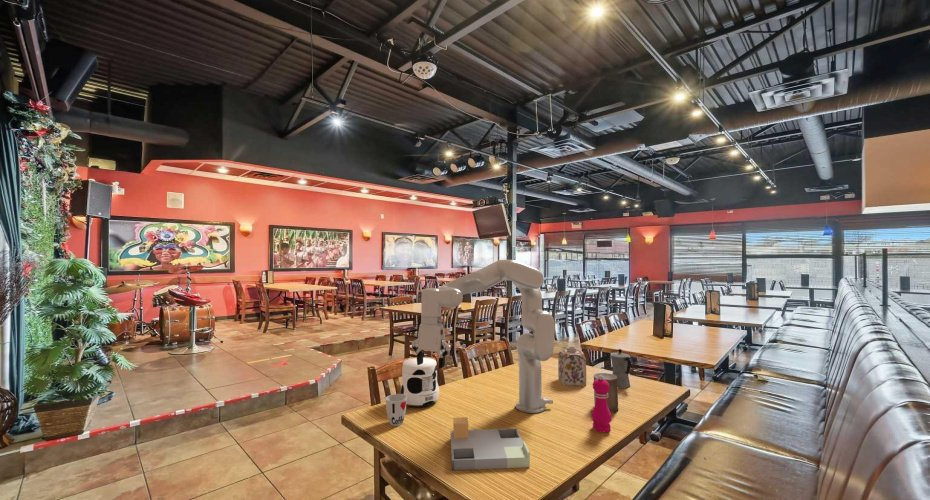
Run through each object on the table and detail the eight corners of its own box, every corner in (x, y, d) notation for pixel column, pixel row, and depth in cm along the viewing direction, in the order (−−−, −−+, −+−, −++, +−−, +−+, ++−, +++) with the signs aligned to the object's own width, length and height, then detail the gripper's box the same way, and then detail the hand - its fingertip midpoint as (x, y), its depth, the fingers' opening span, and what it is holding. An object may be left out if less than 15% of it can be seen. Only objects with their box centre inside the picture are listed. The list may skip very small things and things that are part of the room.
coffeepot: (605, 381, 199) (604, 346, 199) (621, 380, 200) (621, 345, 201) (621, 391, 184) (621, 353, 184) (639, 390, 185) (639, 353, 185)
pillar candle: (621, 407, 164) (620, 372, 164) (612, 414, 157) (611, 377, 157) (599, 402, 171) (599, 368, 171) (590, 408, 163) (589, 373, 164)
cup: (389, 429, 145) (389, 402, 145) (383, 421, 152) (383, 396, 152) (409, 425, 149) (409, 399, 149) (403, 417, 156) (402, 392, 156)
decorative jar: (586, 386, 191) (586, 350, 192) (563, 386, 192) (563, 350, 192) (580, 378, 203) (579, 344, 204) (558, 378, 204) (557, 344, 204)
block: (467, 431, 136) (467, 417, 136) (468, 438, 131) (468, 423, 131) (453, 431, 136) (453, 417, 136) (453, 438, 131) (453, 423, 131)
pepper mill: (609, 434, 139) (608, 379, 140) (589, 430, 143) (588, 376, 143) (613, 427, 145) (612, 374, 146) (594, 423, 149) (593, 371, 150)
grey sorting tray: (517, 436, 138) (516, 424, 138) (529, 467, 118) (529, 452, 118) (450, 439, 137) (450, 426, 137) (452, 470, 117) (452, 455, 117)
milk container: (410, 393, 183) (410, 356, 183) (444, 397, 178) (444, 358, 178) (393, 407, 166) (393, 366, 166) (430, 412, 161) (430, 369, 161)
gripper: (455, 321, 145) (455, 366, 145) (418, 317, 153) (417, 360, 153) (445, 324, 138) (445, 371, 138) (406, 320, 147) (406, 365, 146)
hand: (430, 365), depth 145 cm, fingers open, 9 cm apart
